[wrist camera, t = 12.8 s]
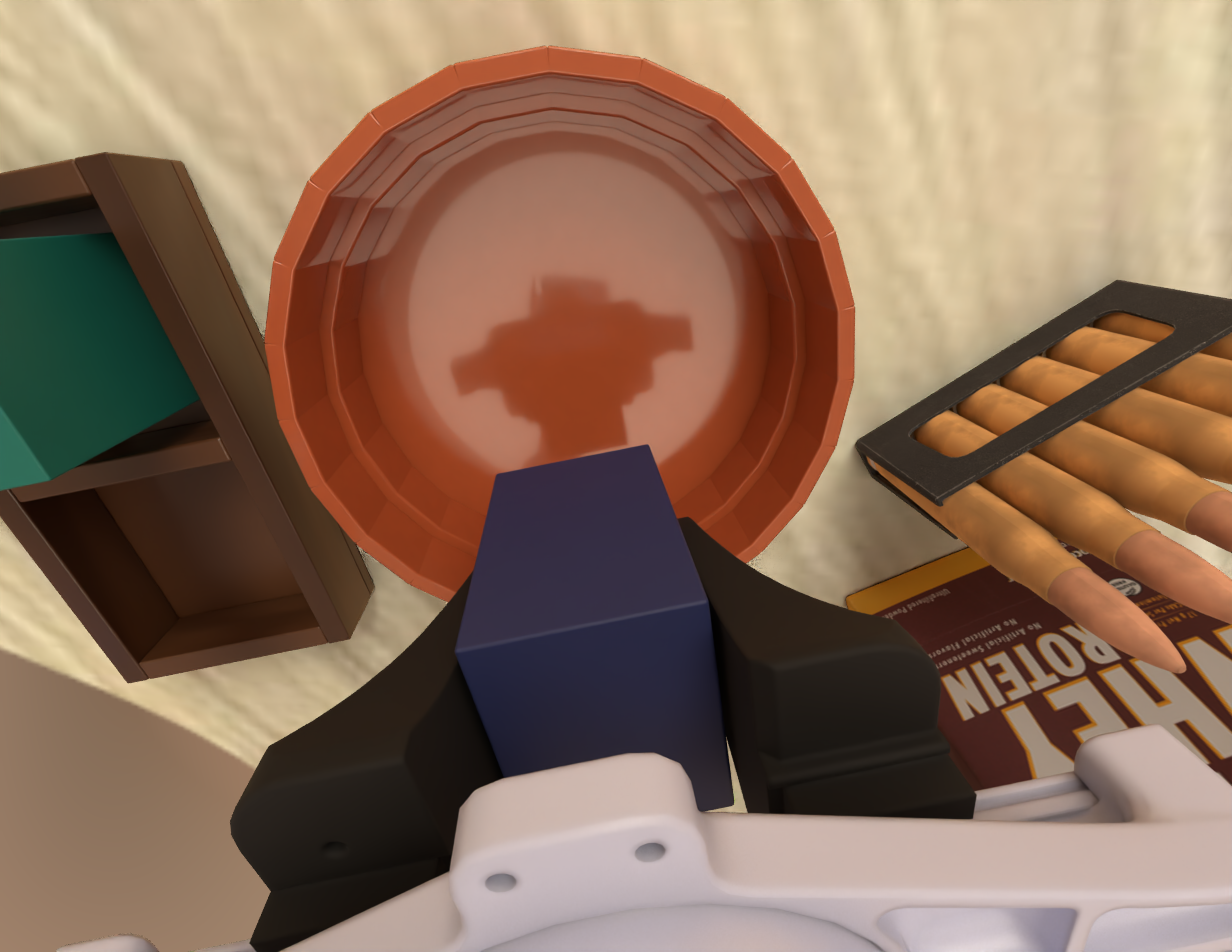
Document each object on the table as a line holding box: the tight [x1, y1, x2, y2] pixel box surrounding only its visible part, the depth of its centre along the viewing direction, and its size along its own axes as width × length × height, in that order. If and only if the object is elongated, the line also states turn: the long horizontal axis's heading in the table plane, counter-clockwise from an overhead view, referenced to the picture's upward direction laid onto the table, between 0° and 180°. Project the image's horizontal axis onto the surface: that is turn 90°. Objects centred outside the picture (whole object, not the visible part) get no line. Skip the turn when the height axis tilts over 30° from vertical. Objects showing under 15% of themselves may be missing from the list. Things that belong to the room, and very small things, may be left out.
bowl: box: [264, 46, 855, 603], centre depth 18 cm, size 15×15×5 cm
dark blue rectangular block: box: [455, 444, 734, 812], centre depth 13 cm, size 4×5×6 cm
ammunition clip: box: [856, 280, 1232, 673], centre depth 16 cm, size 11×2×12 cm, turn 124°
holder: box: [0, 152, 374, 683], centre depth 18 cm, size 8×15×3 cm, turn 10°
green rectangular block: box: [0, 232, 200, 491], centre depth 15 cm, size 4×5×6 cm
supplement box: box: [846, 537, 1232, 791], centre depth 21 cm, size 10×15×16 cm
